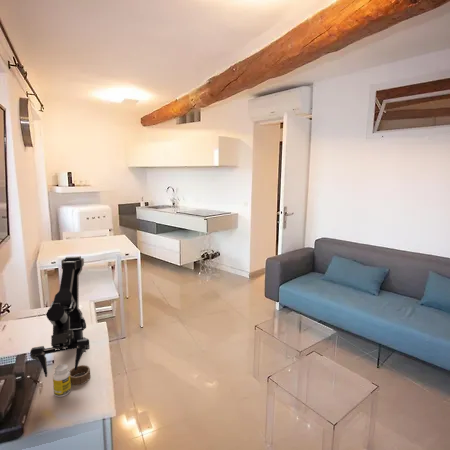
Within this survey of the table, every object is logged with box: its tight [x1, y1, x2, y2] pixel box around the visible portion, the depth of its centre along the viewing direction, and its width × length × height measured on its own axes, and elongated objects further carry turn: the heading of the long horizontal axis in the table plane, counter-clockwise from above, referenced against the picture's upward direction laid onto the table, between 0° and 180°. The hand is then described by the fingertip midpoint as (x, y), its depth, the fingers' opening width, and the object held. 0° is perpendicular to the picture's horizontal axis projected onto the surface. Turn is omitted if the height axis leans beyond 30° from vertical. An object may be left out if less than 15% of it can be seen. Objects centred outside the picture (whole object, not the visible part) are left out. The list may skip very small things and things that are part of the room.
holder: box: [69, 364, 91, 386], centre depth 119 cm, size 7×7×3 cm
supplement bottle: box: [52, 363, 72, 398], centre depth 111 cm, size 5×5×10 cm
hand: (61, 373), depth 110 cm, fingers open, 9 cm apart
